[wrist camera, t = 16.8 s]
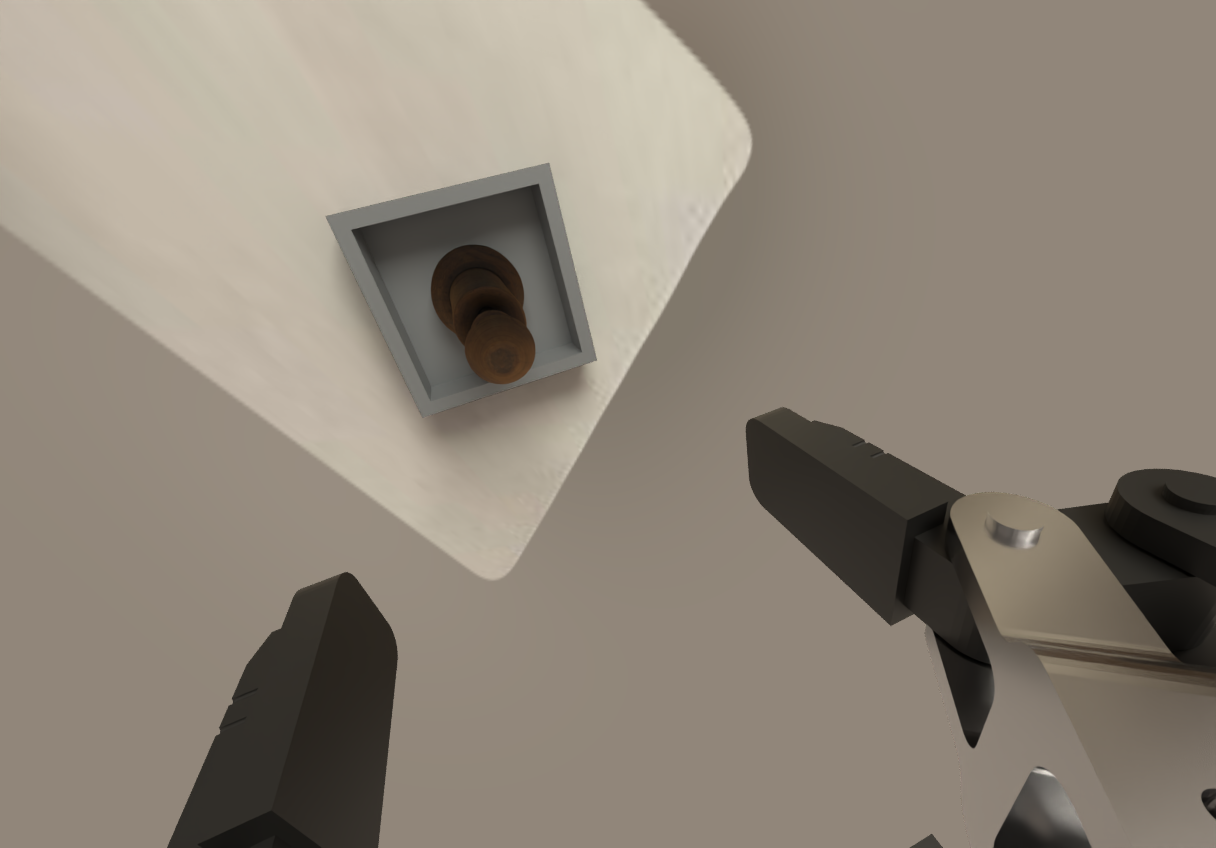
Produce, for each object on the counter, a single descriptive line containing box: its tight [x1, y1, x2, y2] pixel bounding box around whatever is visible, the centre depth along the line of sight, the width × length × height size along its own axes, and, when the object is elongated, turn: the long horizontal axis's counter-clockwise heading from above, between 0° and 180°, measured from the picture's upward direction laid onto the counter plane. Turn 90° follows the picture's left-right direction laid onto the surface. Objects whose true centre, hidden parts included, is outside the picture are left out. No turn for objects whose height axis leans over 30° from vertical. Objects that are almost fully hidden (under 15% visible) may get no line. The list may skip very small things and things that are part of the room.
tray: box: [325, 163, 597, 418], centre depth 33 cm, size 14×14×4 cm
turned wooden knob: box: [431, 245, 535, 384], centre depth 26 cm, size 7×6×18 cm
